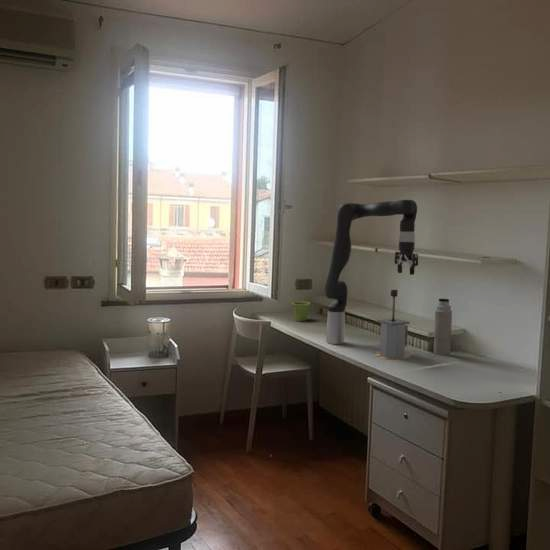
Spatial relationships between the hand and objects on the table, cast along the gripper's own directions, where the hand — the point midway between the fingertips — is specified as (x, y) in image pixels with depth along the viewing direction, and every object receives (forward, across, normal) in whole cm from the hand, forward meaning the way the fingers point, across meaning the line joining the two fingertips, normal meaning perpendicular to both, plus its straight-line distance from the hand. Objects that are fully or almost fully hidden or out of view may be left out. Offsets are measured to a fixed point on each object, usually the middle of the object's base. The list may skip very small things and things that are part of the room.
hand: (405, 273), depth 304 cm
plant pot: (+40, -101, +4) cm, 109 cm away
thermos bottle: (+40, +12, +14) cm, 44 cm away
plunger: (+26, +4, -10) cm, 29 cm away
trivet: (+40, +4, -10) cm, 41 cm away
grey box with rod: (+39, +4, -9) cm, 40 cm away
